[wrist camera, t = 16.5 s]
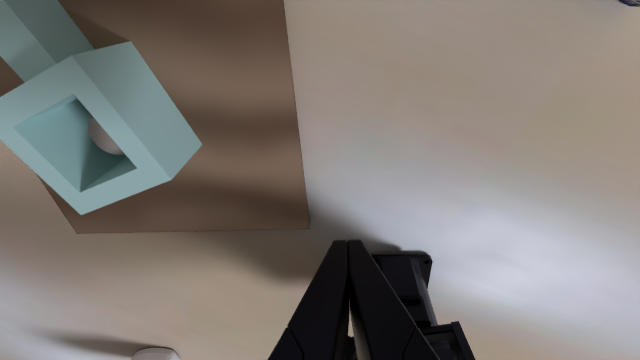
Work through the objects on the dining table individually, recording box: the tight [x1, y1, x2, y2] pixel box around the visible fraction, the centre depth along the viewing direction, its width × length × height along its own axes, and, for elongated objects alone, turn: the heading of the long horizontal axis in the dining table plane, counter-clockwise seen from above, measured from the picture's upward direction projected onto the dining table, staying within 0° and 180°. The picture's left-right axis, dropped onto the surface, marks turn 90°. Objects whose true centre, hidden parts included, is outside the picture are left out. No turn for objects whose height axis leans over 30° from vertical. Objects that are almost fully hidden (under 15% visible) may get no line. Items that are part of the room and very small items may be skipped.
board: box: [0, 0, 309, 234], centre depth 18 cm, size 20×20×4 cm
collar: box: [0, 0, 202, 215], centre depth 16 cm, size 12×7×4 cm, turn 23°
